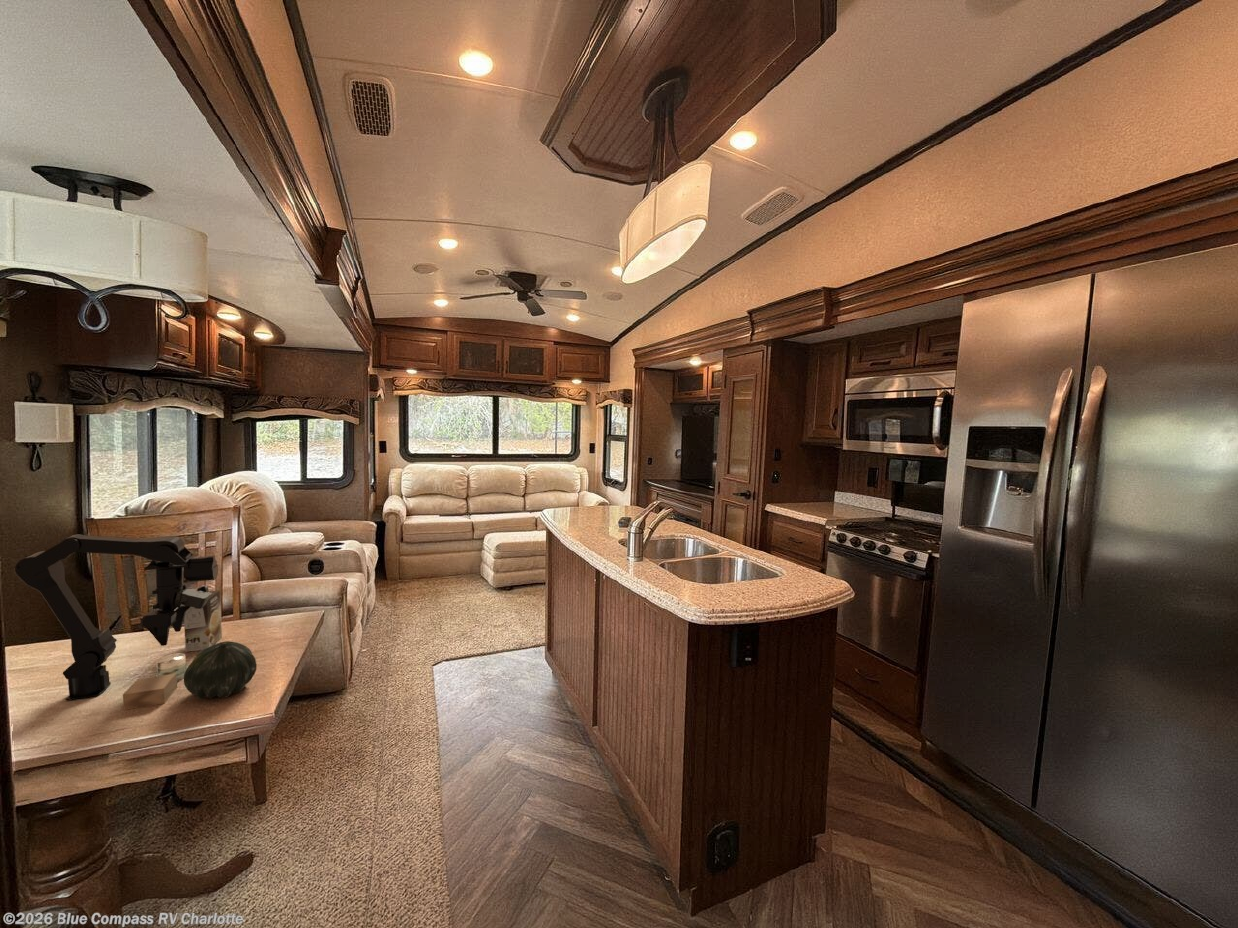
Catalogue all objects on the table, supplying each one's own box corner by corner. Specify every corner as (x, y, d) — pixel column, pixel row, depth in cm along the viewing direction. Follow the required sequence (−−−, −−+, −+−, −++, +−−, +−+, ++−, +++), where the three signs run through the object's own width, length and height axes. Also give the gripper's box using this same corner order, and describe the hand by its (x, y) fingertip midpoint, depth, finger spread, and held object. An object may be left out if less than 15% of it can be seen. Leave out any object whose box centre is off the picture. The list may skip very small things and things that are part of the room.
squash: (203, 658, 141) (187, 634, 131) (266, 652, 146) (255, 629, 136) (186, 711, 132) (167, 690, 122) (254, 703, 137) (242, 682, 127)
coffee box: (209, 649, 158) (206, 600, 156) (184, 652, 156) (181, 601, 154) (222, 637, 166) (220, 590, 165) (199, 639, 164) (196, 591, 163)
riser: (123, 709, 126) (122, 694, 125) (138, 693, 133) (137, 678, 133) (164, 703, 129) (163, 688, 129) (177, 687, 136) (176, 673, 136)
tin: (153, 686, 136) (151, 665, 136) (163, 675, 142) (161, 655, 141) (181, 682, 139) (180, 661, 138) (190, 671, 144) (188, 651, 144)
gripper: (193, 591, 133) (195, 648, 134) (217, 570, 150) (218, 621, 151) (138, 595, 128) (140, 654, 130) (169, 573, 145) (171, 626, 147)
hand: (171, 638), depth 139 cm, fingers open, 9 cm apart
